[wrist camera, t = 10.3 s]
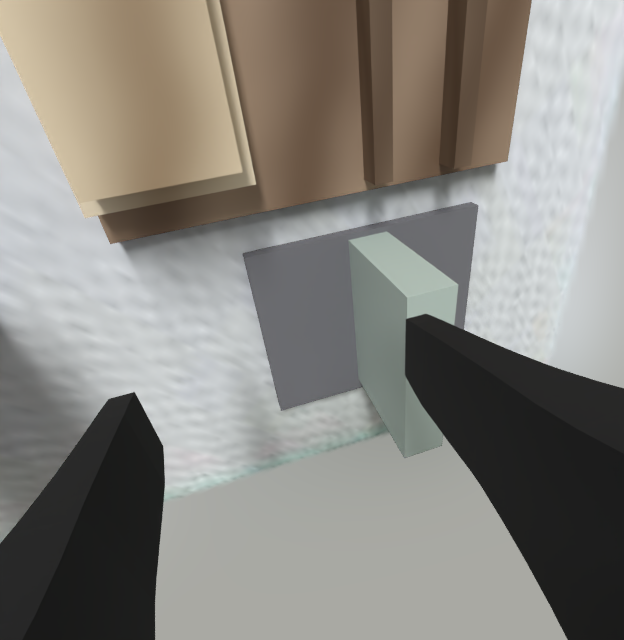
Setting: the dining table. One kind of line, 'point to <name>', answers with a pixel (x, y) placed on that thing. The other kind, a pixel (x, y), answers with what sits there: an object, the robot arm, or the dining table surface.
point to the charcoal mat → (340, 297)
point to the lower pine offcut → (197, 186)
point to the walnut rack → (357, 100)
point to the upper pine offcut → (124, 90)
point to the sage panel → (395, 330)
